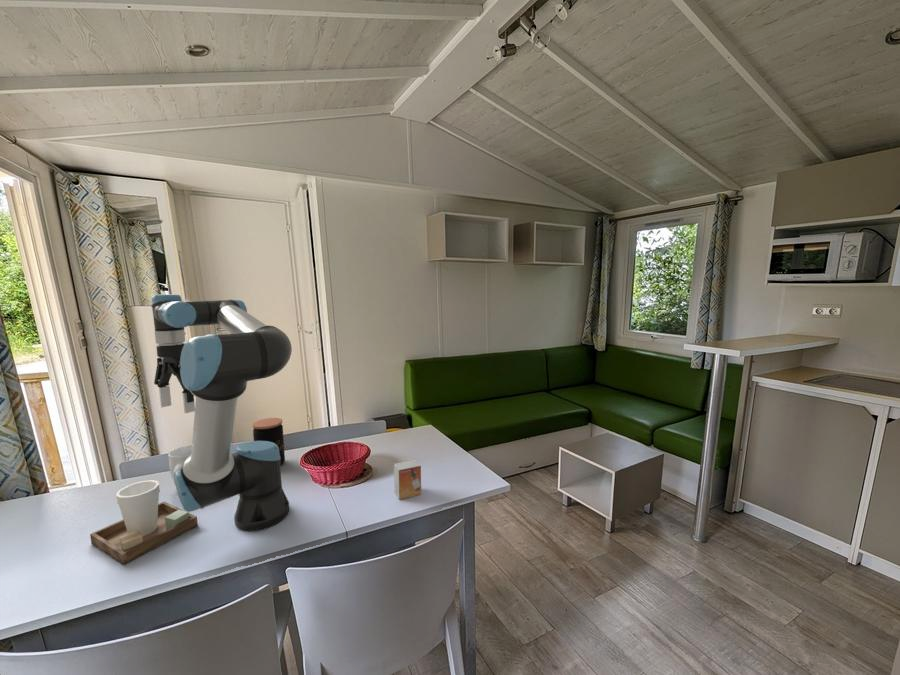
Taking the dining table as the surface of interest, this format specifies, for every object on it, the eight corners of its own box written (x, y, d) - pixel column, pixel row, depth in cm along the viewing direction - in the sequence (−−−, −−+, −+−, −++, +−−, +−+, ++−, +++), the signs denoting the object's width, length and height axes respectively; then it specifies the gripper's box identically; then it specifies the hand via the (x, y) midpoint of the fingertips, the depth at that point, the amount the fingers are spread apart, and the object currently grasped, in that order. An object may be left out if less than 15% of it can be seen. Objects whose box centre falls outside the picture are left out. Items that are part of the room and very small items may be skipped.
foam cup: (139, 543, 102) (134, 499, 101) (112, 539, 104) (107, 495, 103) (171, 522, 112) (167, 481, 110) (146, 519, 113) (141, 478, 112)
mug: (196, 496, 127) (192, 460, 125) (159, 500, 125) (155, 463, 123) (213, 475, 141) (210, 442, 140) (180, 479, 139) (177, 445, 137)
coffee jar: (277, 471, 144) (274, 426, 142) (250, 471, 144) (246, 427, 142) (289, 459, 155) (287, 417, 152) (264, 459, 155) (261, 417, 153)
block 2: (189, 524, 111) (188, 511, 110) (176, 532, 107) (175, 519, 106) (179, 522, 112) (178, 509, 111) (166, 530, 108) (164, 517, 108)
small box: (398, 500, 124) (398, 470, 122) (394, 492, 129) (393, 463, 128) (421, 494, 127) (421, 465, 126) (416, 487, 132) (415, 458, 131)
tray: (197, 525, 111) (196, 516, 111) (123, 565, 95) (122, 554, 95) (165, 510, 119) (164, 501, 119) (91, 544, 103) (90, 534, 103)
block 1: (143, 550, 100) (142, 536, 99) (124, 558, 97) (122, 543, 96) (140, 543, 102) (139, 529, 102) (121, 550, 100) (120, 537, 99)
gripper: (207, 344, 115) (212, 411, 118) (163, 340, 126) (169, 401, 129) (180, 347, 108) (187, 418, 111) (136, 342, 120) (144, 407, 122)
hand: (177, 409), depth 120 cm, fingers open, 13 cm apart
